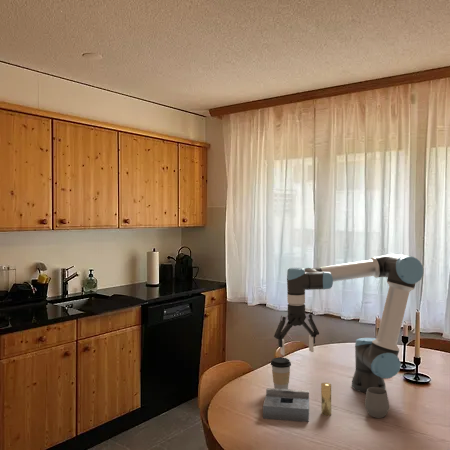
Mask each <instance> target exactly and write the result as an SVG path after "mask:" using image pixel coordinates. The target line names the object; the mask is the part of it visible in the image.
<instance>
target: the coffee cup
mask: <svg viewBox="0 0 450 450" xmlns="http://www.w3.org/2000/svg"><path fill="white" fill-rule="evenodd" d="M270 366H271V368H272V369H271V371H272V382H273V388H276V389H289V384H290V374H291V366H292V362H291V361H290V359H289V358H288V357H273V358H272V359H271V361H270Z"/></svg>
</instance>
